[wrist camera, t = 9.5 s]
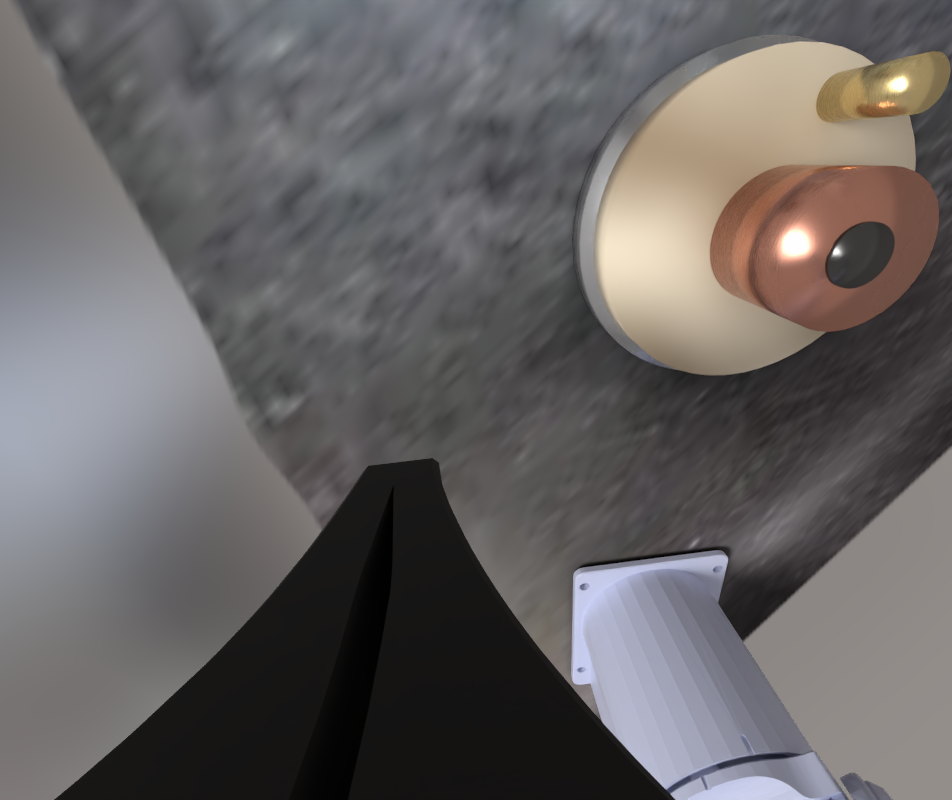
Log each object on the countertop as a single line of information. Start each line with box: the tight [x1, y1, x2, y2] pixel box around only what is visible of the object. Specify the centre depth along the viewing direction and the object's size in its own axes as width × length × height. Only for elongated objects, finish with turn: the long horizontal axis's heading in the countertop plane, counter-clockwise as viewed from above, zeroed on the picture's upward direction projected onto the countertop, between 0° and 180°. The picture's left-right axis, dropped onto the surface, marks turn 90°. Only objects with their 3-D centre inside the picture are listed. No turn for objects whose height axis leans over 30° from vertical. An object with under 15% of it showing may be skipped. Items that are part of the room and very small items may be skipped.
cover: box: [710, 165, 939, 332], centre depth 13 cm, size 4×4×3 cm
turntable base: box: [572, 35, 818, 370], centre depth 16 cm, size 10×10×1 cm
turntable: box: [594, 41, 950, 375], centre depth 14 cm, size 10×10×4 cm
